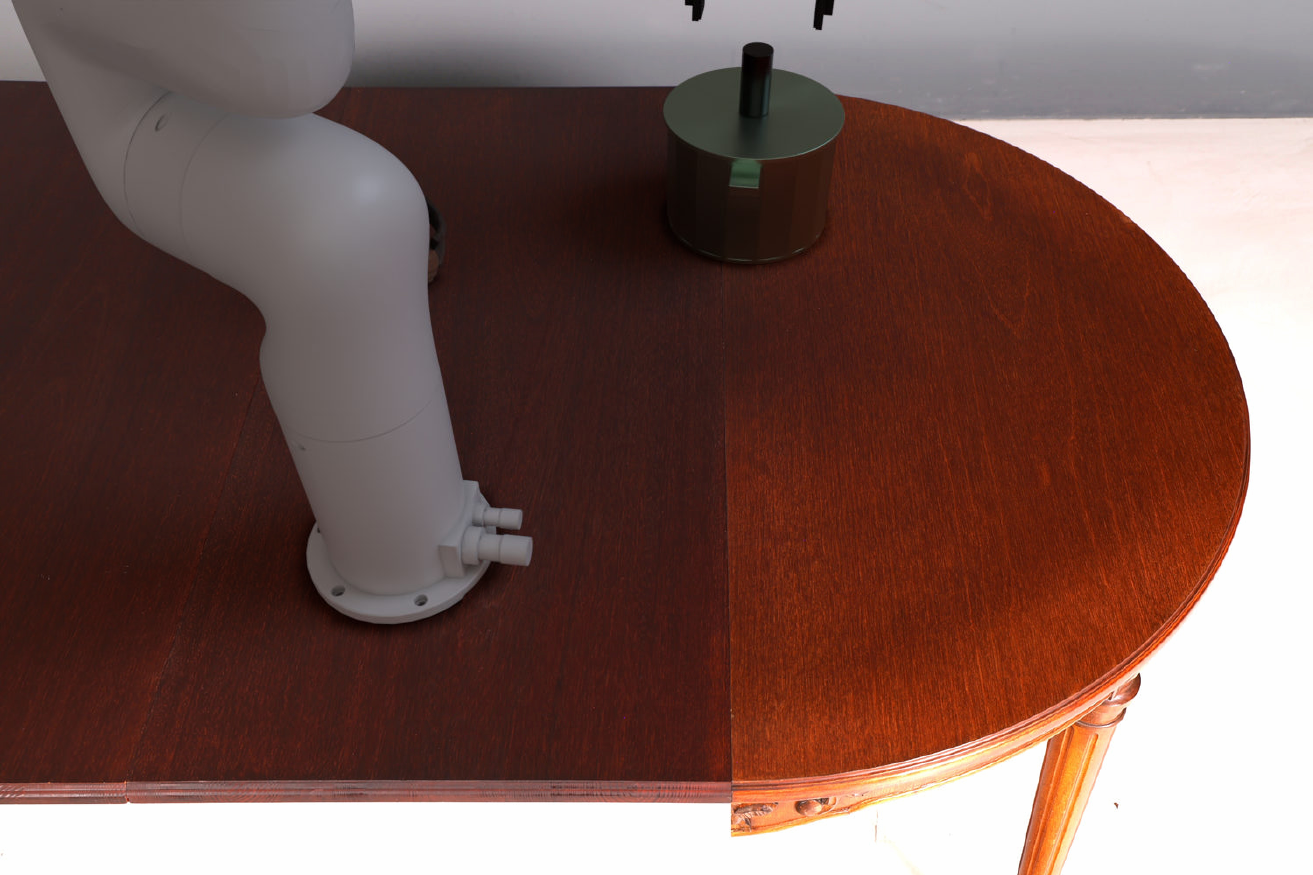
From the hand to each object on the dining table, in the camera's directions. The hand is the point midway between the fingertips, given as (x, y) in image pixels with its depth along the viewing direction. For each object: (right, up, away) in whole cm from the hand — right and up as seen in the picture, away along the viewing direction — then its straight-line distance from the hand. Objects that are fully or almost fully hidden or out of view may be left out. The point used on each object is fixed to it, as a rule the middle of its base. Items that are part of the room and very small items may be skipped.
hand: (757, 18), depth 84 cm
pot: (0, -13, +14) cm, 19 cm away
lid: (0, -6, +7) cm, 9 cm away
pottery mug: (-32, -19, +9) cm, 39 cm away
